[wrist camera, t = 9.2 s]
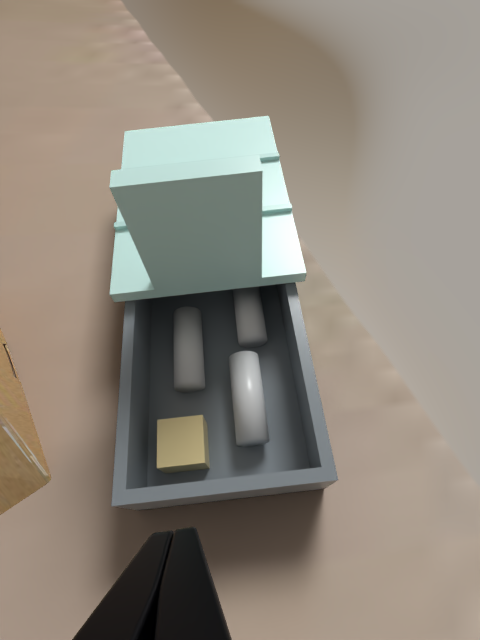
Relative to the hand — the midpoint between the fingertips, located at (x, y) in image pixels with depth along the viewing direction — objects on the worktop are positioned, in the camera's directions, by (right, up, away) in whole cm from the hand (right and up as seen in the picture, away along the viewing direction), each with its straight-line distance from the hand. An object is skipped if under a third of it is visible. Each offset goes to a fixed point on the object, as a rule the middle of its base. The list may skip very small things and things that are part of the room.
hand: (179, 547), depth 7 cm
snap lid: (-1, +12, +18) cm, 22 cm away
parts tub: (0, +1, +16) cm, 16 cm away
